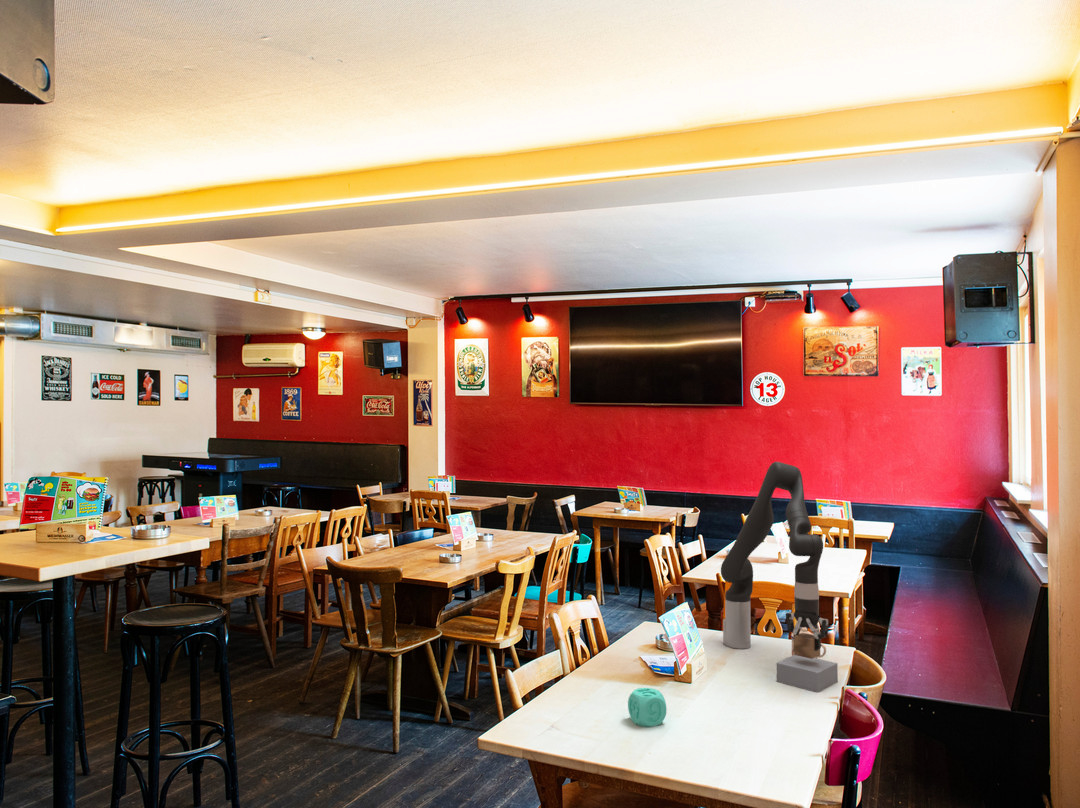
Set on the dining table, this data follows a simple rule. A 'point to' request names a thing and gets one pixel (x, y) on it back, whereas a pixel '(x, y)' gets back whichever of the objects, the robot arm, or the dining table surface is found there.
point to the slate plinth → (807, 672)
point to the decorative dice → (647, 707)
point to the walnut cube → (805, 646)
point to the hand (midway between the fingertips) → (807, 647)
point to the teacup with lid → (804, 630)
